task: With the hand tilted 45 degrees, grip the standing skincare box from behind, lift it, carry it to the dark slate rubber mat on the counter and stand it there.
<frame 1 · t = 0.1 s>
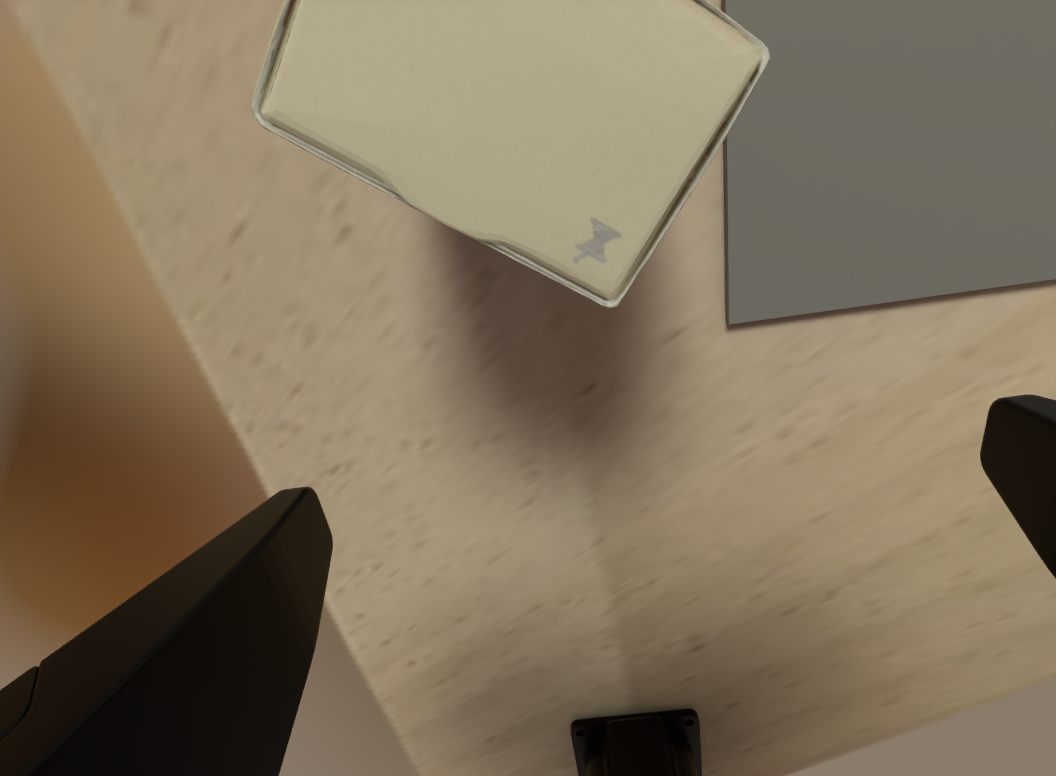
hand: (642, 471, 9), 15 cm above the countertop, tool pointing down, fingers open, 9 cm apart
skincare box: (523, 73, 20), on the countertop
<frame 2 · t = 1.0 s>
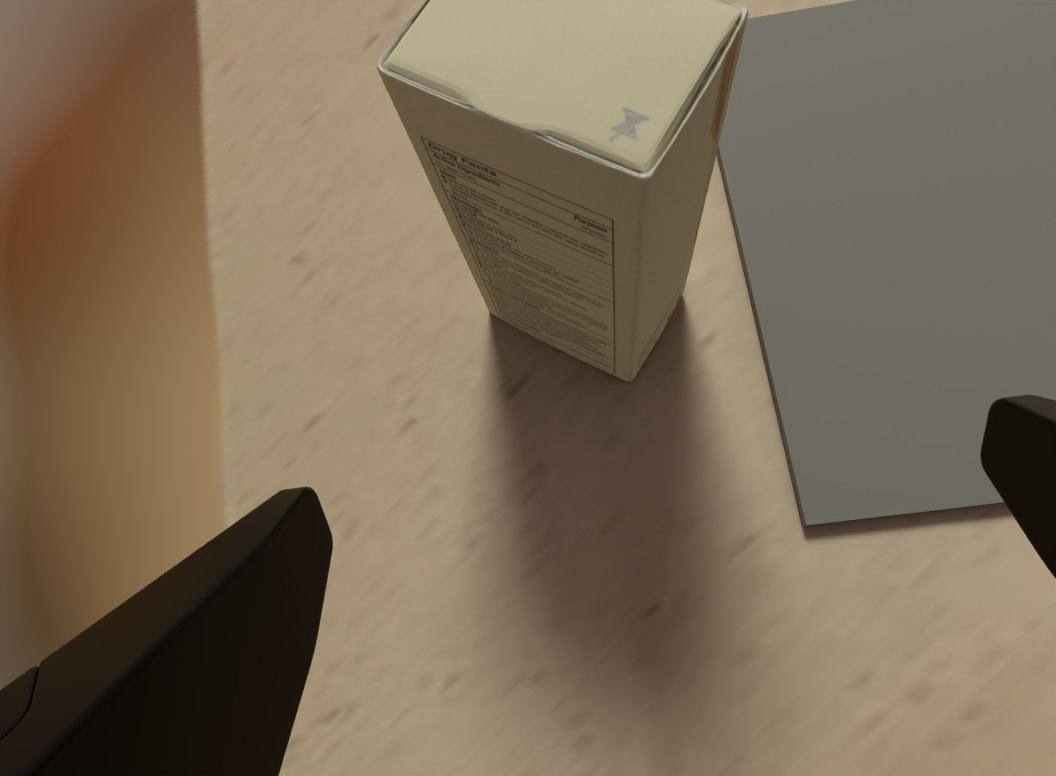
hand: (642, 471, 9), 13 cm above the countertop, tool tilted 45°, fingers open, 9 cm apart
slate mat: (935, 222, 23), on the countertop
skincare box: (581, 301, 24), on the countertop
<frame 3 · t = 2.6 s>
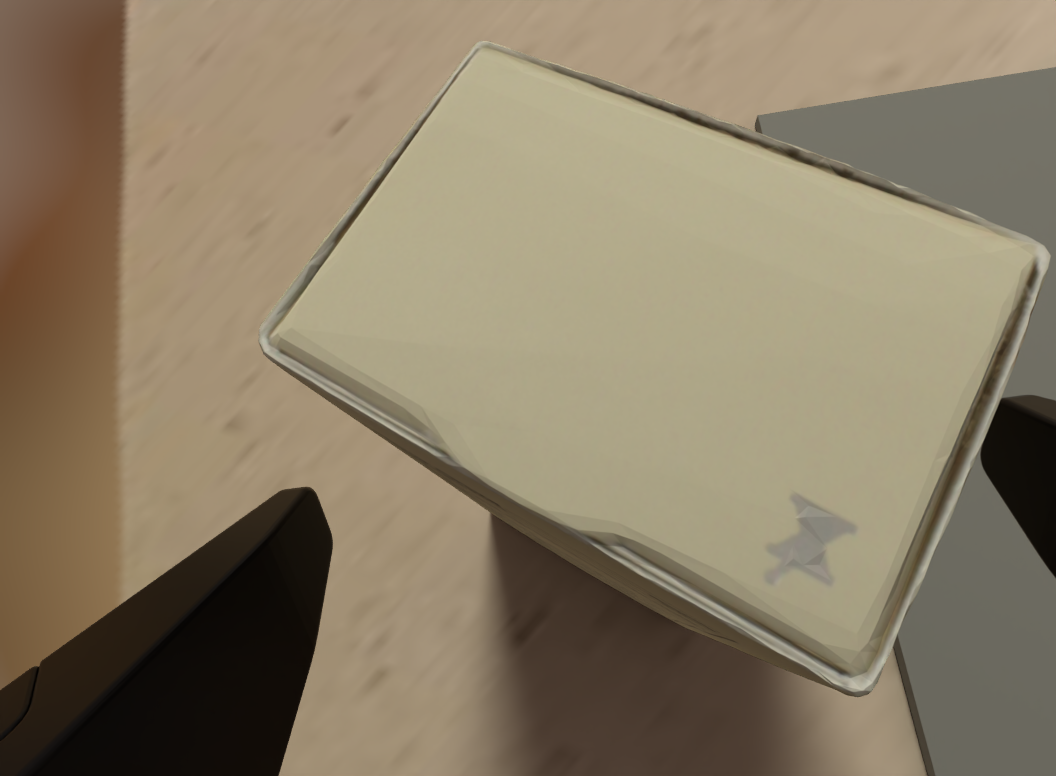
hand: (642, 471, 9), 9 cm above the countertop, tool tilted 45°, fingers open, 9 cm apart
skincare box: (616, 496, 17), on the countertop
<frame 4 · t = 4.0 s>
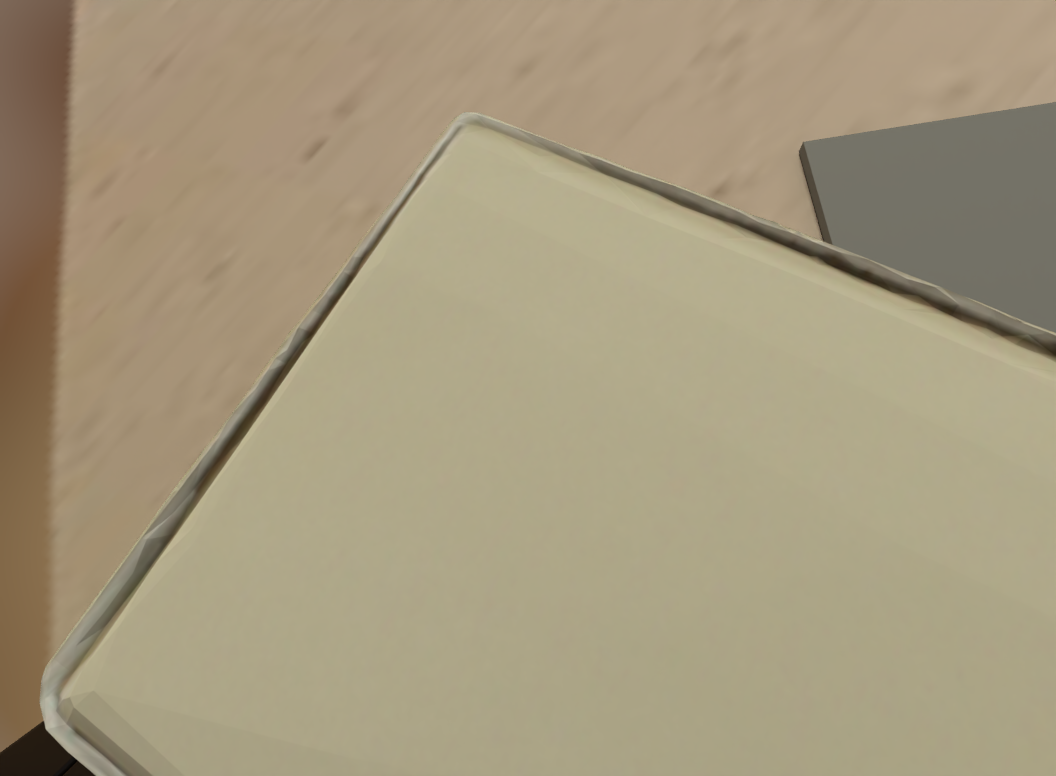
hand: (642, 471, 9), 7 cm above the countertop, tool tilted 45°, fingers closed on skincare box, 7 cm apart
skincare box: (639, 606, 15), on the countertop, touching gripper
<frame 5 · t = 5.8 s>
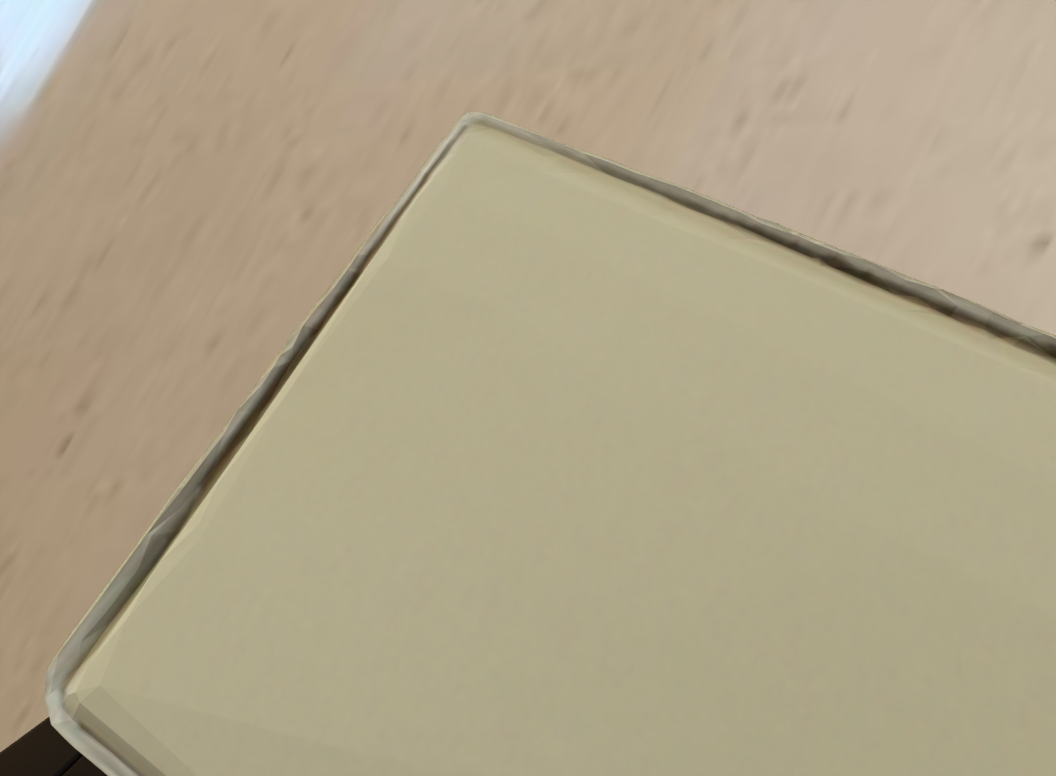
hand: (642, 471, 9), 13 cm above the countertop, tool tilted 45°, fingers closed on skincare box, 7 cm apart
skincare box: (634, 604, 15), point 7 cm above the countertop, touching gripper
when the fingers open (8 cm above the countertop, at t = 7.8 s): skincare box stays where it is, resting on slate mat.
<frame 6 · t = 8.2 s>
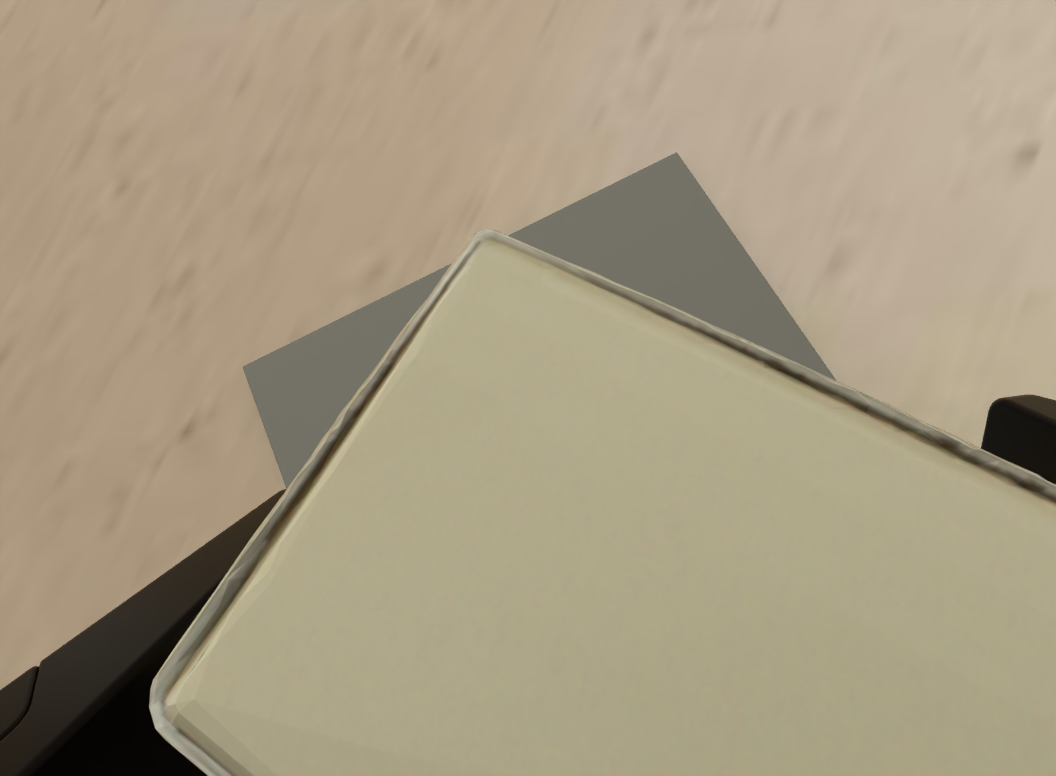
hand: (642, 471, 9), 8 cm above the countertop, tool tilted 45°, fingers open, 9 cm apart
slate mat: (631, 582, 16), on the countertop
skincare box: (633, 614, 15), resting on slate mat
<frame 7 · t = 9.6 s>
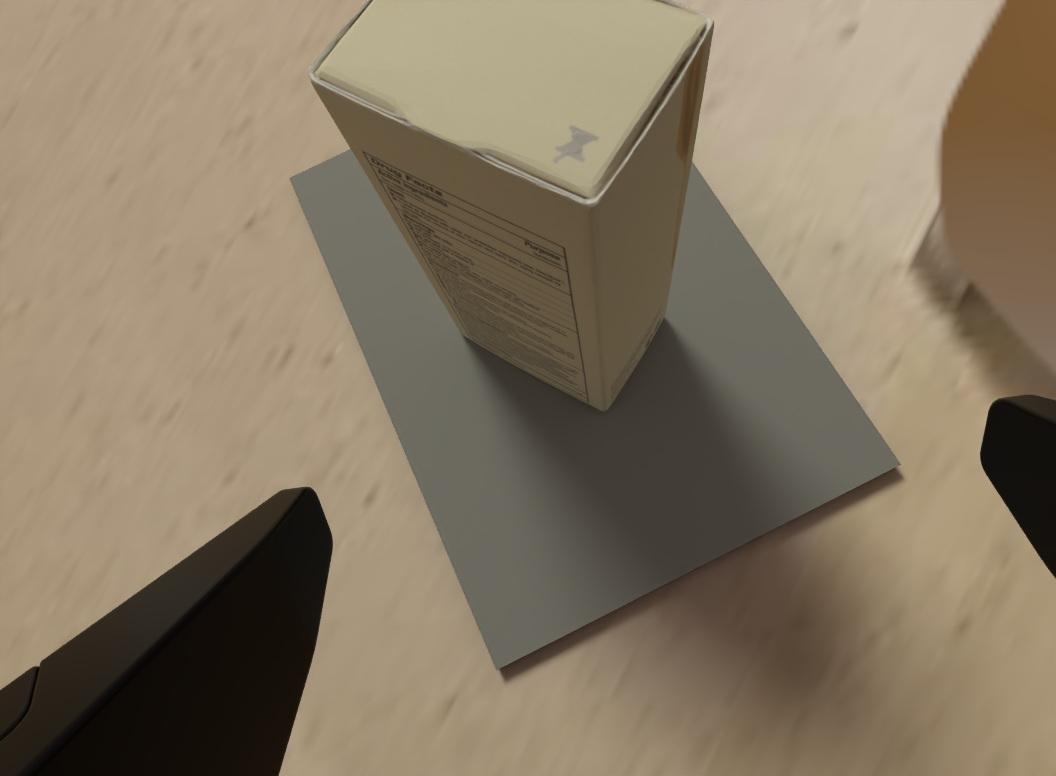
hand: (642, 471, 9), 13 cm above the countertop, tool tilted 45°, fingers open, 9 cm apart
slate mat: (557, 308, 23), on the countertop
skincare box: (557, 324, 23), resting on slate mat
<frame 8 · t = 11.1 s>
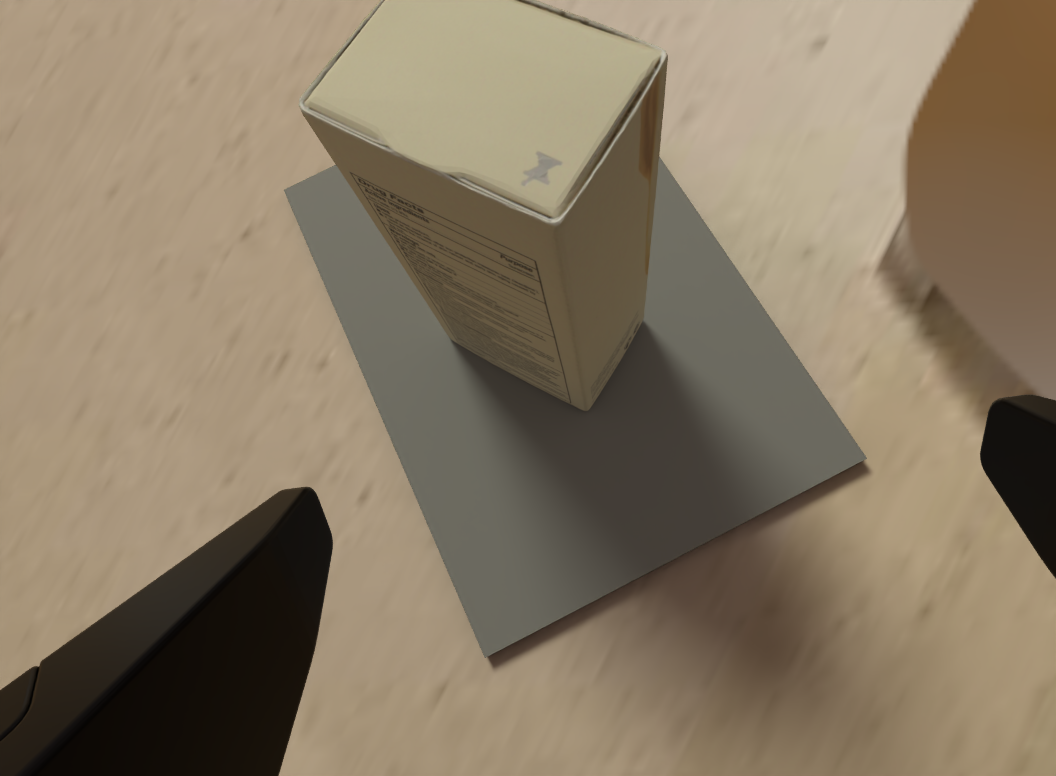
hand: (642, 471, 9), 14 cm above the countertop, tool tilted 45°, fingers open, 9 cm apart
slate mat: (541, 312, 24), on the countertop
skincare box: (541, 328, 24), resting on slate mat
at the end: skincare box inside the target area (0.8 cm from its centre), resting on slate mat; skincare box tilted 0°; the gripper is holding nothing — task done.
